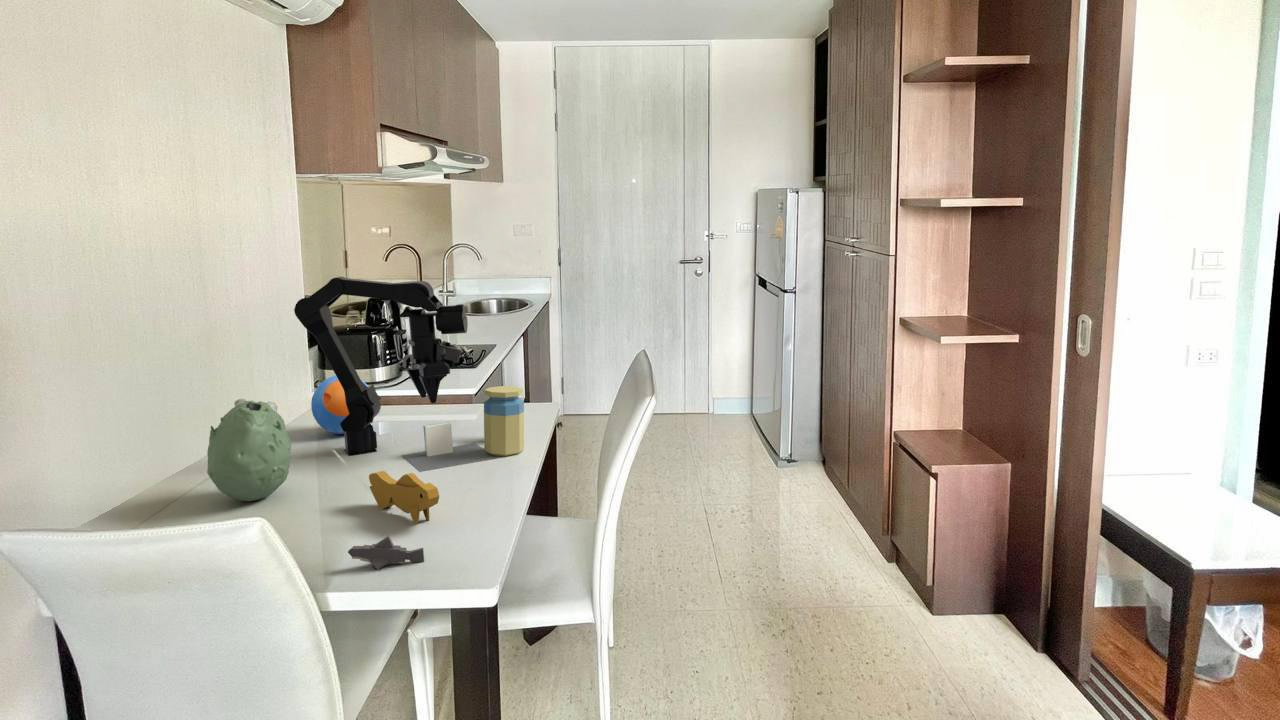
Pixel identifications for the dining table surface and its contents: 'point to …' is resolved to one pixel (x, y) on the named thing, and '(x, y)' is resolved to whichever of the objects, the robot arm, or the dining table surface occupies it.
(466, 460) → the mat
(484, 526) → the dining table surface
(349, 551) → the animal figurine
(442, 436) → the tile
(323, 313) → the robot arm
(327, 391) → the treat dispenser ball
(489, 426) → the jar
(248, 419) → the green rounded lump
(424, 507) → the decorative fish
